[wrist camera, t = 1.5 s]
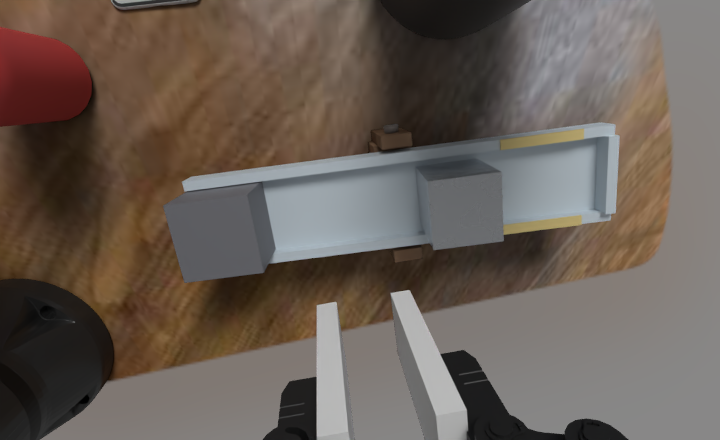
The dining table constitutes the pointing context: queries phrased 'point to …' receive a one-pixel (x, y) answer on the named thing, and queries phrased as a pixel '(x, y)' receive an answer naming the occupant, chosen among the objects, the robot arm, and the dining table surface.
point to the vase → (449, 15)
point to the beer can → (40, 79)
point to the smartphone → (146, 3)
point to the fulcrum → (389, 141)
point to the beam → (382, 199)
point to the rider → (460, 203)
